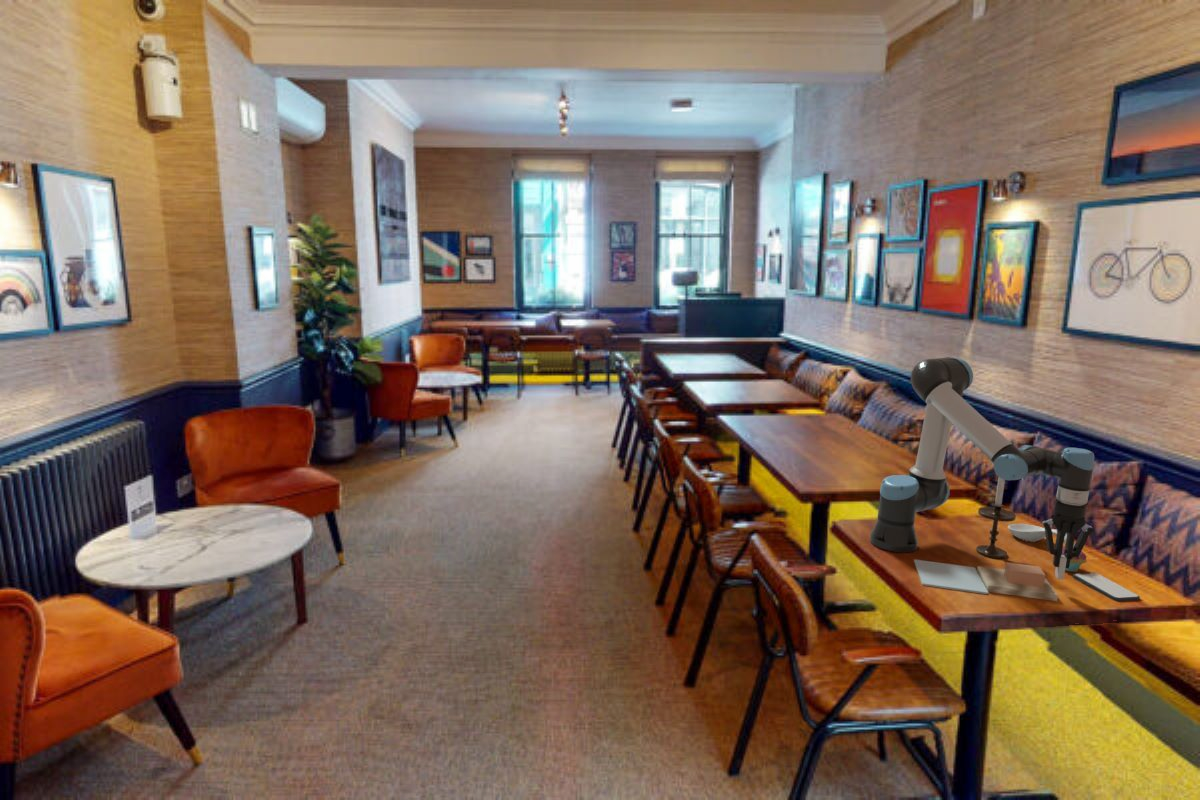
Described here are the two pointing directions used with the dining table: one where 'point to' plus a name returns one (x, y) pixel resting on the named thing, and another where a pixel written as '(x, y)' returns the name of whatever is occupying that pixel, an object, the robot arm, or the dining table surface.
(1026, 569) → the pink block
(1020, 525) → the spoon rest
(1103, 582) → the phone case
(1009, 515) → the candlestick
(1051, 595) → the beige flat rectangular piece
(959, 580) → the mat
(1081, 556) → the cupcake
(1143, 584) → the dining table surface
